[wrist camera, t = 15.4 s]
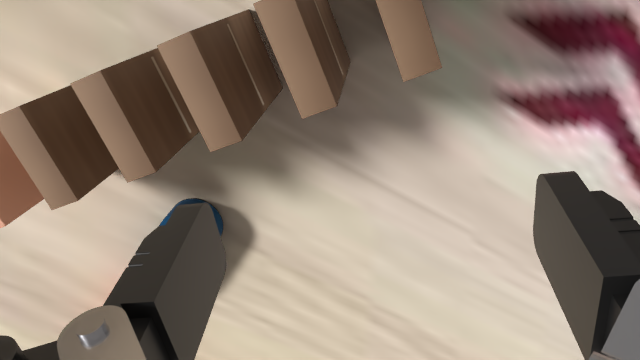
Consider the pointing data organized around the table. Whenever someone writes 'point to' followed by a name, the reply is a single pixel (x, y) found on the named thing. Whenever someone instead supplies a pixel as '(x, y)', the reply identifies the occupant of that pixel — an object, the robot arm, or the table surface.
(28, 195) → the domino
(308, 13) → the domino
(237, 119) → the domino
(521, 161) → the table surface
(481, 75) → the table surface
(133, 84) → the domino
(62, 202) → the domino
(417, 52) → the domino
